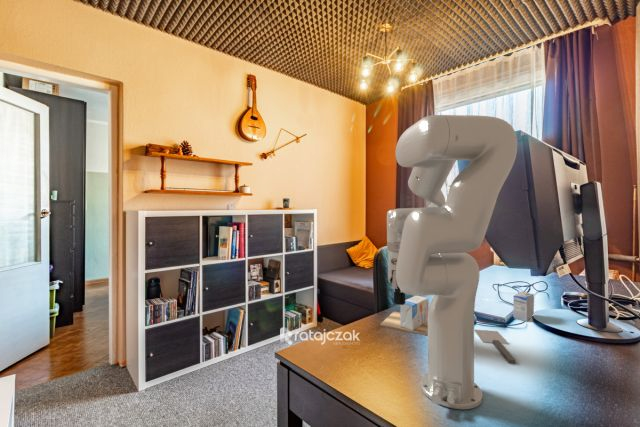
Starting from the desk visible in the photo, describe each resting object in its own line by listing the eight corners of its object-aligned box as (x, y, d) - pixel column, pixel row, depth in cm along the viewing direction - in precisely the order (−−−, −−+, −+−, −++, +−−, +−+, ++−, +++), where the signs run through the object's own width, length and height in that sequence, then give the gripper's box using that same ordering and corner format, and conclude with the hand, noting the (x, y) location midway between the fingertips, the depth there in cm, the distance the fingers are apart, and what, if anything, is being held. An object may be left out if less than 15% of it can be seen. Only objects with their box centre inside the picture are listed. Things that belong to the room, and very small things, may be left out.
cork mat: (427, 335, 96) (427, 333, 96) (380, 325, 104) (380, 324, 104) (436, 320, 108) (436, 319, 108) (393, 312, 117) (393, 311, 117)
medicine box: (520, 313, 115) (520, 291, 115) (534, 316, 111) (534, 293, 111) (513, 318, 110) (513, 295, 110) (527, 322, 106) (527, 297, 106)
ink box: (413, 305, 98) (432, 295, 108) (399, 302, 101) (419, 292, 112) (413, 331, 98) (432, 318, 109) (399, 326, 102) (419, 315, 112)
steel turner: (527, 364, 77) (527, 361, 77) (497, 362, 79) (497, 358, 79) (497, 332, 98) (497, 329, 98) (474, 330, 99) (474, 327, 99)
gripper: (403, 250, 88) (404, 312, 88) (416, 245, 101) (417, 299, 101) (379, 249, 92) (380, 308, 92) (395, 244, 105) (396, 296, 105)
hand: (399, 303), depth 96 cm, fingers closed
